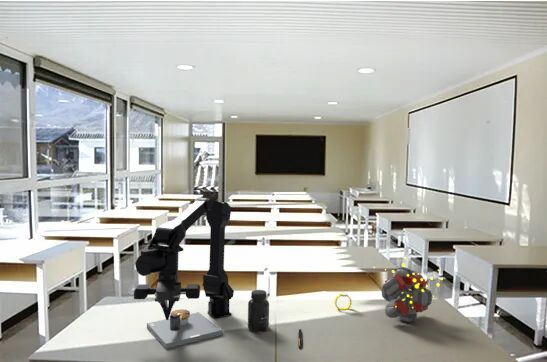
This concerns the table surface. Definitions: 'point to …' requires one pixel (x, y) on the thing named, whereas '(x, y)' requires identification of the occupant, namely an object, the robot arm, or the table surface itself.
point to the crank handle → (178, 318)
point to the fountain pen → (300, 339)
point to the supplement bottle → (258, 311)
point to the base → (184, 330)
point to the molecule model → (406, 294)
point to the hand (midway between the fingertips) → (167, 319)
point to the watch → (343, 296)
